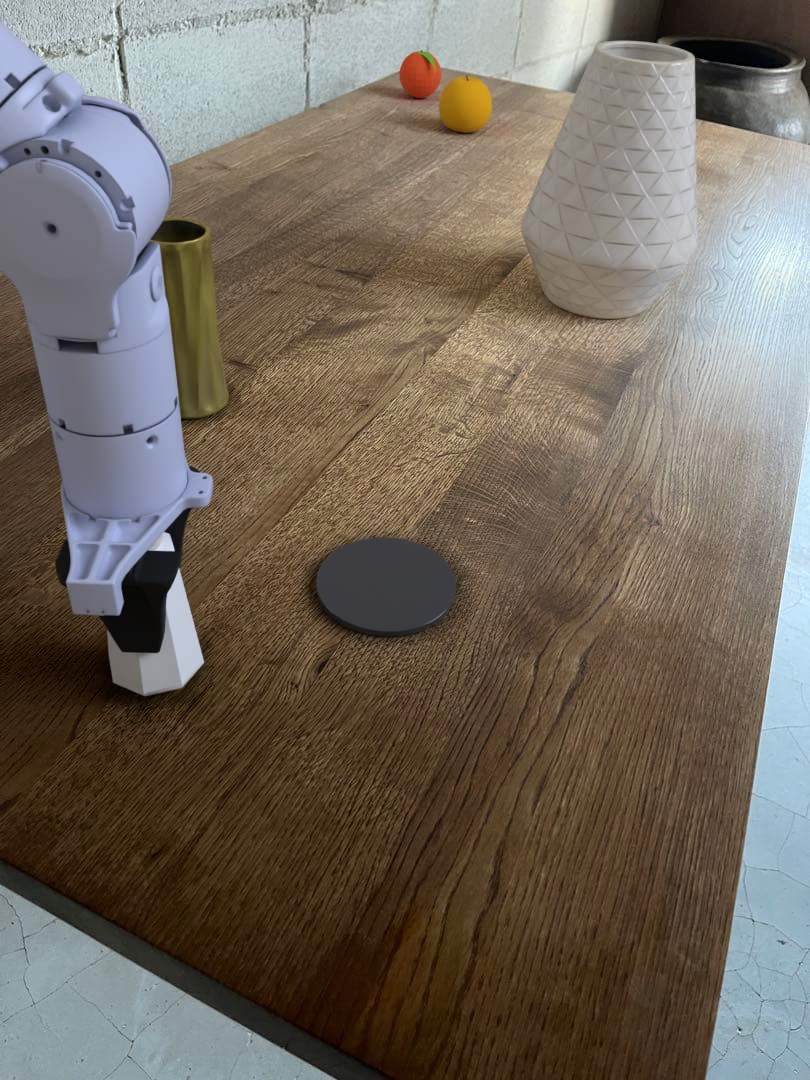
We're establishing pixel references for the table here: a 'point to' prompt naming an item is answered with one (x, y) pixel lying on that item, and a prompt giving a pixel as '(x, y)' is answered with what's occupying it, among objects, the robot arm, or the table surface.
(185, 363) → the vase
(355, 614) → the slate coaster
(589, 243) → the vase
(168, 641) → the pepper shaker
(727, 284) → the table surface
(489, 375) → the table surface
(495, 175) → the table surface
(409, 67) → the clementine
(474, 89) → the apple
